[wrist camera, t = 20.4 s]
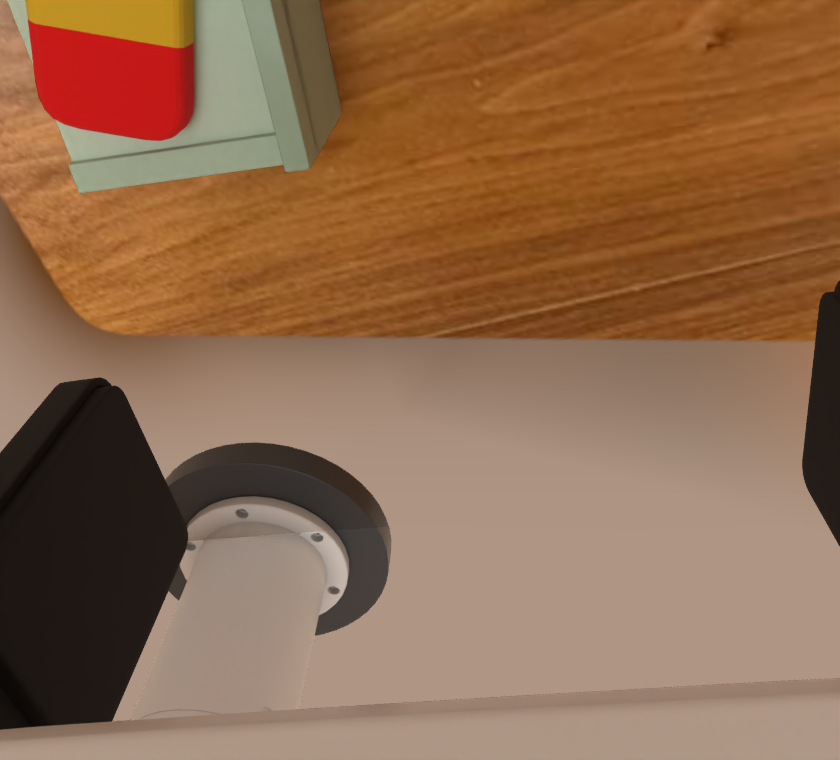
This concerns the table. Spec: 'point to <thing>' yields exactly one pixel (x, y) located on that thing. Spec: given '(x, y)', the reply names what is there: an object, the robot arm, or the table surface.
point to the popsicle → (115, 64)
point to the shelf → (227, 99)
